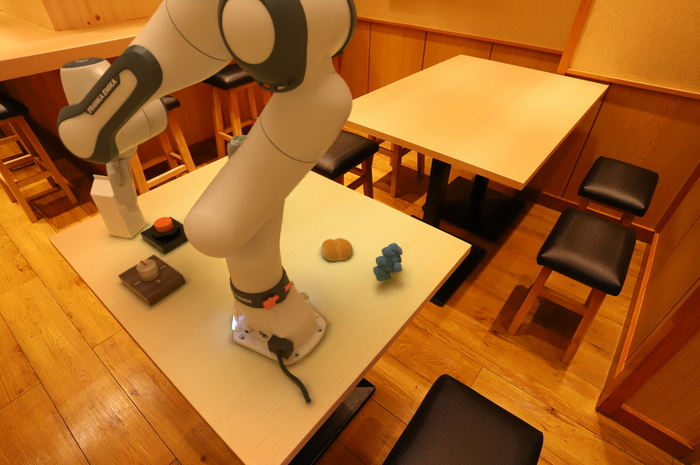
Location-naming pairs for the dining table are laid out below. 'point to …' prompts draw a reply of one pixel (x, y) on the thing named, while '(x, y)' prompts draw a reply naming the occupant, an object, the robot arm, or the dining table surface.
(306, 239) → the dining table surface
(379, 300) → the dining table surface
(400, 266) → the grapes
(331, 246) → the bread roll
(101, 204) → the milk carton
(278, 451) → the dining table surface
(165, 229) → the round orange button
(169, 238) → the button base
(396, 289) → the dining table surface
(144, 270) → the dial knob
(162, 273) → the dial panel
